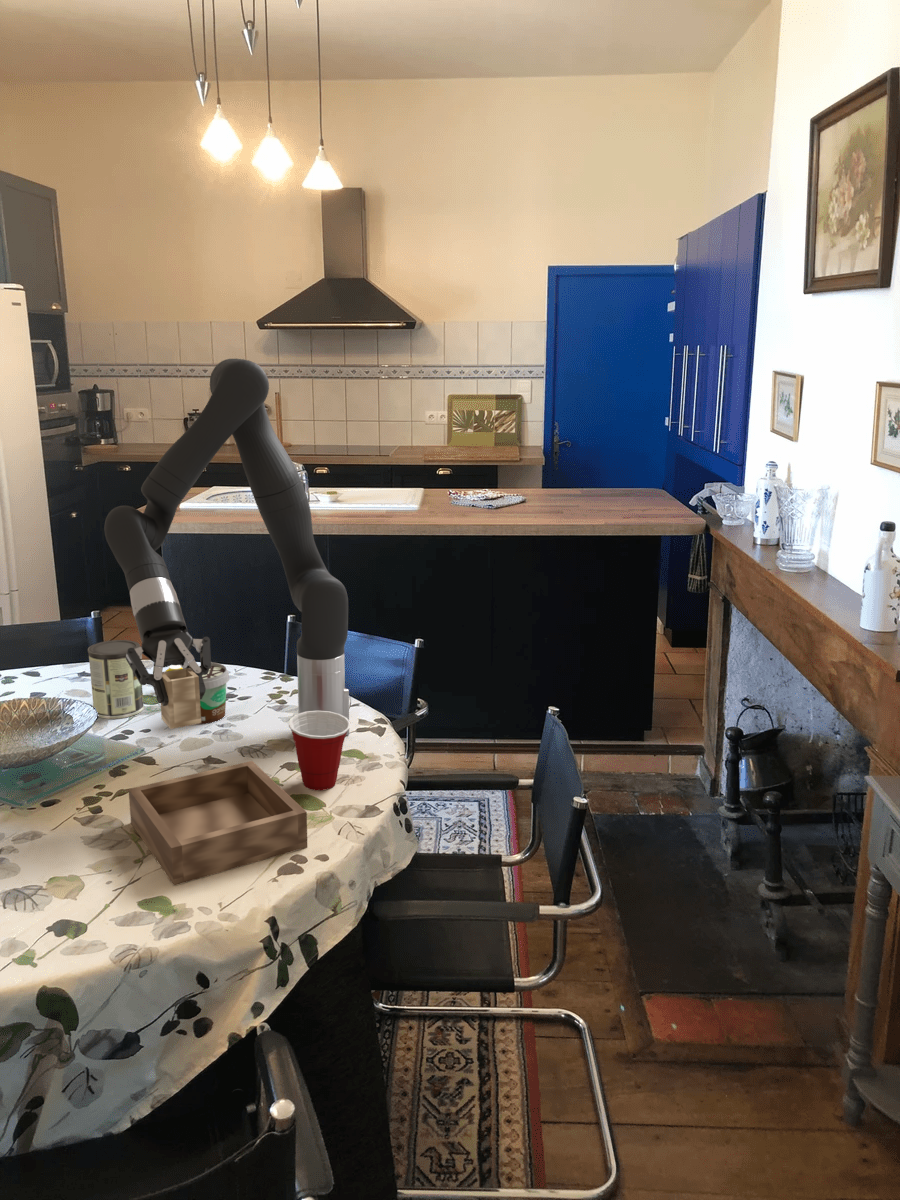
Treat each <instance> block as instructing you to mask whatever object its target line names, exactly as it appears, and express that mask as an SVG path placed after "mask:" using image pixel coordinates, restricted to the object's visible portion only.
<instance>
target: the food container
mask: <svg viewBox="0 0 900 1200" xmlns="http://www.w3.org/2000/svg"><path fill="white" fill-rule="evenodd" d="M202 678H203V681H204V684H205V688H206V691H205V694H204V695H203V697H202V699H200V710H201V723H199V724H198V725H206V723H208V724H211V723H212V722H213V723H216V722H219V721H221V720H223V719H224V718H225V717H224V716H226V704H227V703H226V702H227V683H228V682H229V681H230V674H229V670H228V669H227V667H226V666H225V665H224V664H221V663H218V662H212V661H211V667H210V669H209V672H208V674H206V675H202ZM223 717H224V718H223ZM222 718H223V719H222ZM220 719H221V720H220ZM218 720H219V721H218ZM215 721H216V722H215Z"/></svg>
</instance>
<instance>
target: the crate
mask: <svg viewBox="0 0 900 1200" xmlns="http://www.w3.org/2000/svg"><path fill="white" fill-rule="evenodd" d="M127 790H128V800H129V815H130V824H131V825H132V826H133V828H134V829H135V831H136V832H137V834H138V836H140V839H141V840H142V841H143V842H144V844H145V846H146V847H147V849H148V850H149V851H150V853H151V854H152V856H153V858H154V859H155V860H156V862H157V863H158V865H159V866H160V868H161V869H162V871H163V872H164V873H165V875H166V876H167V878H168V879H169V881H170V882H171V884H172V885H173V886H178V885H181V884H185V883H188V882H191V881H195V880H198V879H201V878H205V877H209V876H211V875H216V874H219V873H223V872H226V871H229V870H234V869H236V868H240V867H244V866H246V865H251V864H254V863H257V862H260V861H265V860H268V859H271V858H274V857H279V856H282V855H285V854H289V853H292V852H295V851H298V850H302V849H303V850H304V849H306V848H308V813H307V811H306V810H305V809H304V808H303V807H302V806H301V805H300V804H299V803H298V802H297V801H296V800H295V799H294V798H292V797H291V796H290V795H289V794H288V793H287V792H286V791H285V790H284V789H283V787H281V786H279V785H278V783H277V782H275V781H274V780H273V779H272V778H271V777H270V776H269V775H268V774H267V773H266V772H265V771H264V770H263V769H261V768H260V767H259V766H258V765H257V764H256V763H255V762H254V761H253V760H250V761H245V762H240V763H236V764H233V765H232V764H231V765H226V766H223V767H218V768H215V769H210V770H205V771H201V772H197V773H193V774H188V775H183V776H180V777H174V778H171V779H167V780H162V781H158V782H153V783H149V784H145V785H140V786H135V787H131V788H128V789H127Z"/></svg>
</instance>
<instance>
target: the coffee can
mask: <svg viewBox="0 0 900 1200" xmlns="http://www.w3.org/2000/svg"><path fill="white" fill-rule="evenodd" d="M139 647H141V644H140V643H139V642H137V641H134V640H129V639H112V640H105V641H101V642H96V643H95V644H92V645H90V646H89V647H88V648H87V653H88V661H89V663H88V664H89V672H90V683H91V692H92V693H91V694H92V695H91V696H92V706H93V708H94V707H95V708H96V710H97V712H98V715H99V717H98V718H99V719H109V720H118V719H126V718H130V717H133V716H136V715H139V714H140V713H142V712H143V711H144V709H145V705H144V694H143V693H144V692H143V685H141V684H140V683H139V681H138V679H137V678H136V676H135V674H134V672H133V671H132V669H131V667H130V665H129V664H128V662H127V660H126V654H127V651H128V649H129V648H134V649H136V648H139Z"/></svg>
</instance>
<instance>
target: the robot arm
mask: <svg viewBox="0 0 900 1200" xmlns="http://www.w3.org/2000/svg"><path fill="white" fill-rule="evenodd" d="M267 375H268V374H267V373H266V372H265V371H264V369H263V367H262V366H260V365H259V364H258V363H256V362H253V361H251V360H250V359H249V360H248V359H244V358H243V359H242V358H227V359H224V360H221V361H220V362H218V363H217V364H216V365H215V366H214V368H213V369H212V371H211V373H210V378H209V391H210V392H211V396H210V397H209V400H208V401H207V403H206V405H205V407H204V408H203V409H202V411H201V413H200V414H199V415H198V416H197V418H196V419H195V421H193V423H192V424H191V426H189V428H187V430H186V431H184V432H183V434H182V435H181V436H180V437H179V438H178V439H177V440H176V441H175V442H173V444H172V445H170V447H169V449H167V451H166V452H165V453H164V454H163V456H162V457H161V458H160V459H159V461H158V462H157V464H156V465H155V466H154V467H153V469H152V470H151V471H150V473H149V474H148V476H146V479H145V480H144V481H143V483H142V484H141V487H140V490H141V494H142V495H143V496H144V498H145V499H146V501H147V503H146V506H145V508H144V511H143V512H142V511H140V510H139V509H137V508H135V507H133V506H130V505H119V506H116V507H114V508H113V509H111V510H110V511H109V512H108V514H107V516H106V518H105V521H104V527H103V528H104V536H105V540H106V542H107V544H108V547H109V548H110V550H111V553H112V554H113V556H114V558H115V560H116V562H117V563H118V565H119V567H120V568H121V569H122V571H123V573H124V576H125V577H124V578H125V582H126V585H127V588H128V591H129V597H130V605H131V609H132V615H133V617H134V620H135V623H136V627H137V630H138V633H139V637H140V641H141V645H140V647H139V648H136V649H134V648H129V649H128V651H127V654H126V660H127V662H128V664H129V665H130V667H131V669H132V671H133V672H134V674H135V676H136V678H137V679H138V681H139V683H140V684H141V685H142V686H146V685H149V686H151V687H152V688H153V689H154V690H153V691H154V694H155V698H156V701H157V702H158V704H161V703H162V705H163V706H167V705H168V702H169V699H168V695H167V691H166V688H165V684H164V681H163V680H162V679H161V678H162V672H163V669H164V668H169V666H172V665H180V666H181V667H182V668H183V669H184V668H190V669H191V670H192V671H193V672H194V673H195V674H196V675H197V676H199V692H200V694H199V695H200V699H202V697H203V695H204V694H205V691H206V688H205V684H204V681H203V678H202V675H206V674H208V672H209V669H210V667H211V662H212V660H211V659H212V655H211V653H212V652H211V639H210V637H208V636H204V637H202V638H193V636H192V635H191V634H190V633H189V631H188V627H187V624H186V621H185V618H184V614H183V611H182V607H181V604H180V601H179V599H178V598H179V597H178V595H177V592H176V590H175V588H174V586H173V584H172V580H171V577H170V573H169V570H168V566H167V565H166V562H165V560H164V558H163V557H162V556H161V555H160V554H159V553H158V552H156V551H157V550H158V549H159V548H160V547H161V546H162V545H163V544H164V542H165V540H166V538H167V536H168V533H169V532H170V528H171V526H172V523H173V521H174V519H175V515H176V512H177V509H178V506H179V505H180V504H181V503H182V501H183V500H184V499H185V497H186V496H187V494H188V493H189V492H190V491H191V489H192V488H193V487H194V485H195V484H196V482H197V480H198V479H199V478H200V477H201V475H202V473H203V472H204V471H205V469H206V468H207V466H208V465H209V464H210V462H211V461H212V460H213V458H214V457H215V455H216V454H217V453H218V452H219V450H221V448H222V446H224V444H225V443H226V442H227V441H228V440H229V439H230V438H231V436H232V437H233V439H234V442H235V444H236V447H237V448H236V449H237V451H238V454H239V458H240V461H241V463H242V467H243V470H244V474H245V476H246V479H247V482H248V485H249V487H250V490H251V493H252V496H253V499H254V501H255V505H256V507H257V509H258V512H259V514H260V516H261V518H262V520H263V523H264V526H265V527H266V530H267V532H268V534H269V536H270V539H271V541H272V542H273V545H274V547H275V549H276V550H277V553H278V555H279V558H280V560H281V564H282V566H283V567H282V568H283V570H284V574H285V577H286V582H287V584H288V589H289V593H290V596H291V600H292V602H293V604H294V606H295V607H296V609H298V611H299V612H300V613H301V635H300V637H299V638H298V639H297V641H296V656H297V657H296V658H297V661H296V662H297V663H296V665H297V703H298V705H297V706H298V707H297V709H298V712H297V714H299V713H303V712H307V711H329V712H333V713H337V714H340V715H342V716H344V717H346V718H347V719H348V720H349V721H350V691H349V689H348V688H347V687H346V683H345V682H346V681H345V680H346V678H345V677H346V676H345V674H346V673H345V671H346V670H345V668H346V667H345V646H346V645H345V644H346V643H347V639H348V635H349V634H348V632H349V631H348V629H349V597H348V593H347V588H346V587H345V585H344V584H343V583H342V582H341V581H340V580H339V579H337V578H336V577H334V576H333V575H332V574H331V573H330V571H328V569H327V567H326V565H325V563H324V561H323V559H322V557H321V554H320V552H319V549H318V547H317V544H316V542H315V538H314V532H313V531H314V530H313V520H312V519H313V518H312V512H311V507H310V502H309V499H308V496H307V492H306V490H305V488H304V484H303V483H302V482H303V481H302V480H301V477H300V474H299V472H298V470H297V468H296V465H295V464H294V462H293V461H292V459H291V457H290V456H289V454H288V452H287V450H286V449H285V447H284V445H283V444H282V442H281V441H280V439H279V438H278V436H277V434H276V432H275V430H274V428H273V426H272V424H271V421H270V418H269V416H268V412H267V408H266V405H265V401H266V400H267V398H268V395H269V390H270V382H269V378H268V376H267ZM192 647H194V648H195V650H196V652H197V653H199V655H200V657H199V658H200V665H199V664H198V663H197V662H196V660H195V657H194V655H193V654H192V653H191V649H192ZM143 656H144V657H146V658H147V659H148V660H150V661H152V662H153V667H152V668H153V669H152V673H149V672H148V669H147V668H146V666H145V665H144V662H143V661H142V660H143ZM348 735H350V729H349V730H348V732H347V733H346V736H348Z"/></svg>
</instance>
